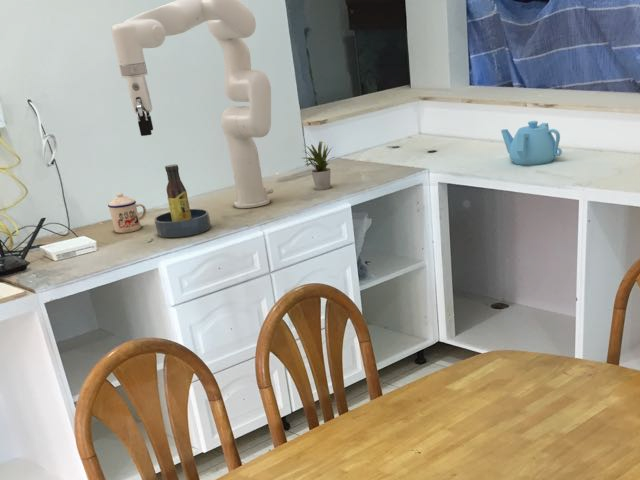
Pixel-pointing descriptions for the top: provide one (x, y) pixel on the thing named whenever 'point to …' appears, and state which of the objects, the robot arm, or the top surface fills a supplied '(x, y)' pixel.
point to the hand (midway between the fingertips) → (147, 132)
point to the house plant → (319, 167)
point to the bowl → (183, 224)
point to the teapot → (532, 144)
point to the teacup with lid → (125, 214)
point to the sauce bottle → (177, 195)
